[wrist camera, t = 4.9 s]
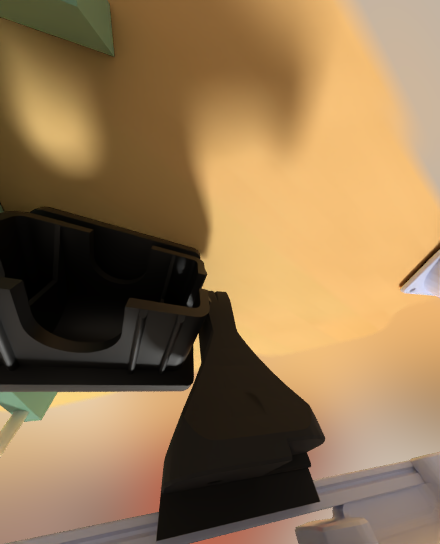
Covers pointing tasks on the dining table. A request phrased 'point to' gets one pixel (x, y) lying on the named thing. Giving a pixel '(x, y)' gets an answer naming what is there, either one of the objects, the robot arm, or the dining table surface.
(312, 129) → the dining table surface
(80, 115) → the dining table surface
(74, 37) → the putting pocket
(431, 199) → the dining table surface
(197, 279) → the black plastic holder
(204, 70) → the dining table surface
